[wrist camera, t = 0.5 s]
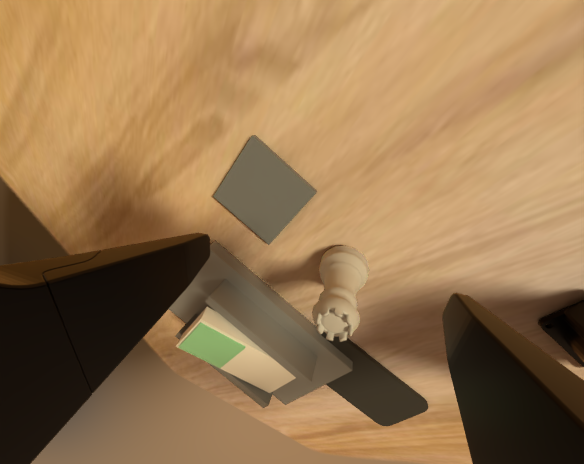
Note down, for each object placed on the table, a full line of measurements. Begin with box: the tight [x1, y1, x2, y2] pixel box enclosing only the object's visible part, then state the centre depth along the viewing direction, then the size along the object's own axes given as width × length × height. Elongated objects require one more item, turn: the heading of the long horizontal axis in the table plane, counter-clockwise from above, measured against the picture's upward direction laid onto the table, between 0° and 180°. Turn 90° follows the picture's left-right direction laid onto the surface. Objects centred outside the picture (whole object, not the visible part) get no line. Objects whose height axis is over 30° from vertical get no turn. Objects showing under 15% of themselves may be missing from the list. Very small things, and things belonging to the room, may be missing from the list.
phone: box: [317, 331, 428, 426], centre depth 28 cm, size 7×1×15 cm
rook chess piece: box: [312, 246, 369, 342], centre depth 20 cm, size 4×4×8 cm
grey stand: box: [169, 241, 353, 408], centre depth 28 cm, size 20×12×4 cm, turn 51°
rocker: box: [176, 307, 296, 393], centre depth 26 cm, size 12×6×2 cm, turn 51°
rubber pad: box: [213, 135, 317, 245], centre depth 22 cm, size 7×7×1 cm
